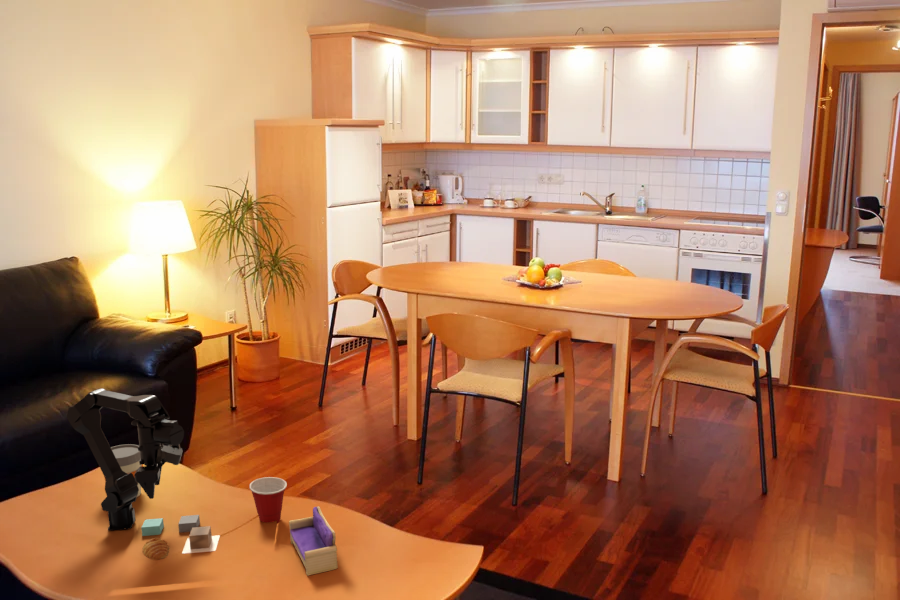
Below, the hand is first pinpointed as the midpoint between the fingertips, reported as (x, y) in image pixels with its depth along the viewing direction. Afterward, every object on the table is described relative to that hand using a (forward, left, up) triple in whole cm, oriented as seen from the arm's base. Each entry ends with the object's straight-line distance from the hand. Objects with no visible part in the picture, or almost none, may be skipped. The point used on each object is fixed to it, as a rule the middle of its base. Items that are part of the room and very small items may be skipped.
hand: (154, 491), depth 239 cm
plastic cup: (+32, +1, -13) cm, 34 cm away
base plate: (+14, -12, -13) cm, 22 cm away
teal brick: (-1, -1, -13) cm, 13 cm away
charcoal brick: (+9, -1, -13) cm, 16 cm away
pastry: (+2, -13, -13) cm, 19 cm away
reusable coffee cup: (-16, +29, -13) cm, 36 cm away
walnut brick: (+14, -12, -12) cm, 22 cm away
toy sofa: (+45, -22, -13) cm, 52 cm away
